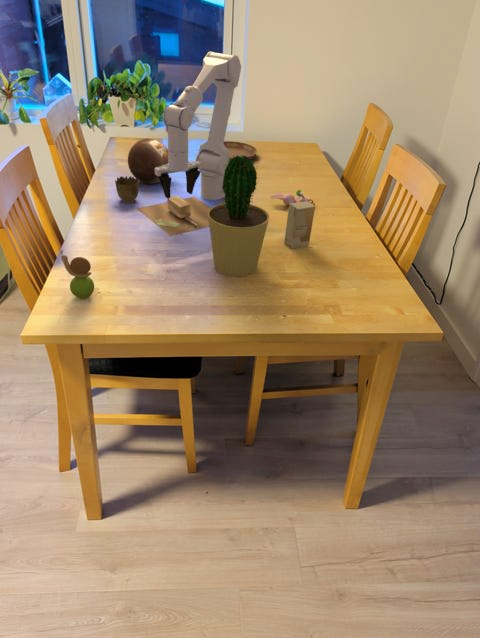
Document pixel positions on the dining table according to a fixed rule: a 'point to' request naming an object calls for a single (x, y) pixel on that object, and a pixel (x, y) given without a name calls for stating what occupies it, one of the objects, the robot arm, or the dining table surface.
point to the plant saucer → (239, 149)
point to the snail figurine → (79, 276)
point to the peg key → (179, 208)
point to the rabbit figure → (291, 198)
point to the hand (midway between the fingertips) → (178, 195)
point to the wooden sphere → (147, 159)
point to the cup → (127, 188)
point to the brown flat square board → (176, 224)
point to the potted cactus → (237, 221)
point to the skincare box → (299, 224)
